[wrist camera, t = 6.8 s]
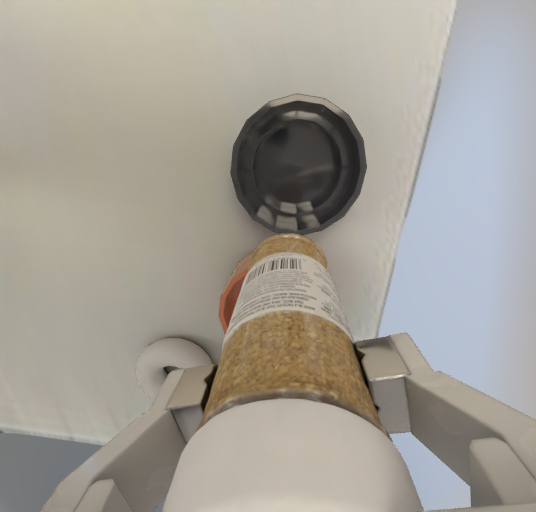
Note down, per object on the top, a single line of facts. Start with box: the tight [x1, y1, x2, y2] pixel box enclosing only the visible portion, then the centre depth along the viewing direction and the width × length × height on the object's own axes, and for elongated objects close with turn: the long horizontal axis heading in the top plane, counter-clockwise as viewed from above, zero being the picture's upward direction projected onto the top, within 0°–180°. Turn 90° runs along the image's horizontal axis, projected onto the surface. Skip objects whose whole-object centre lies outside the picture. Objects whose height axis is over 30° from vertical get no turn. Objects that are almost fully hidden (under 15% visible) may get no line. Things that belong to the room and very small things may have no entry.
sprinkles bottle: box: [162, 233, 424, 512], centre depth 10 cm, size 5×5×14 cm
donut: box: [136, 338, 212, 400], centre depth 37 cm, size 10×4×10 cm
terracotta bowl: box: [219, 252, 253, 334], centre depth 31 cm, size 11×11×6 cm
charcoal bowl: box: [231, 94, 367, 235], centre depth 26 cm, size 11×11×6 cm
